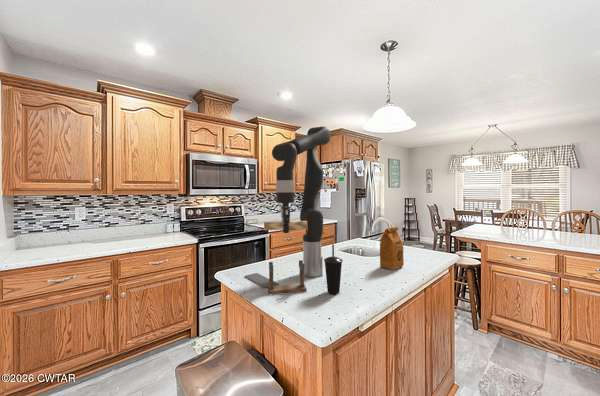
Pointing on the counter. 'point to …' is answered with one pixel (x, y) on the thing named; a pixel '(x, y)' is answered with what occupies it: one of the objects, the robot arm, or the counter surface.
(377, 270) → the counter surface
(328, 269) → the drinking cup
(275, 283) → the grey flat plank
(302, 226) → the rail
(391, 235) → the coffee package
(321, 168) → the robot arm
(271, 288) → the rack
